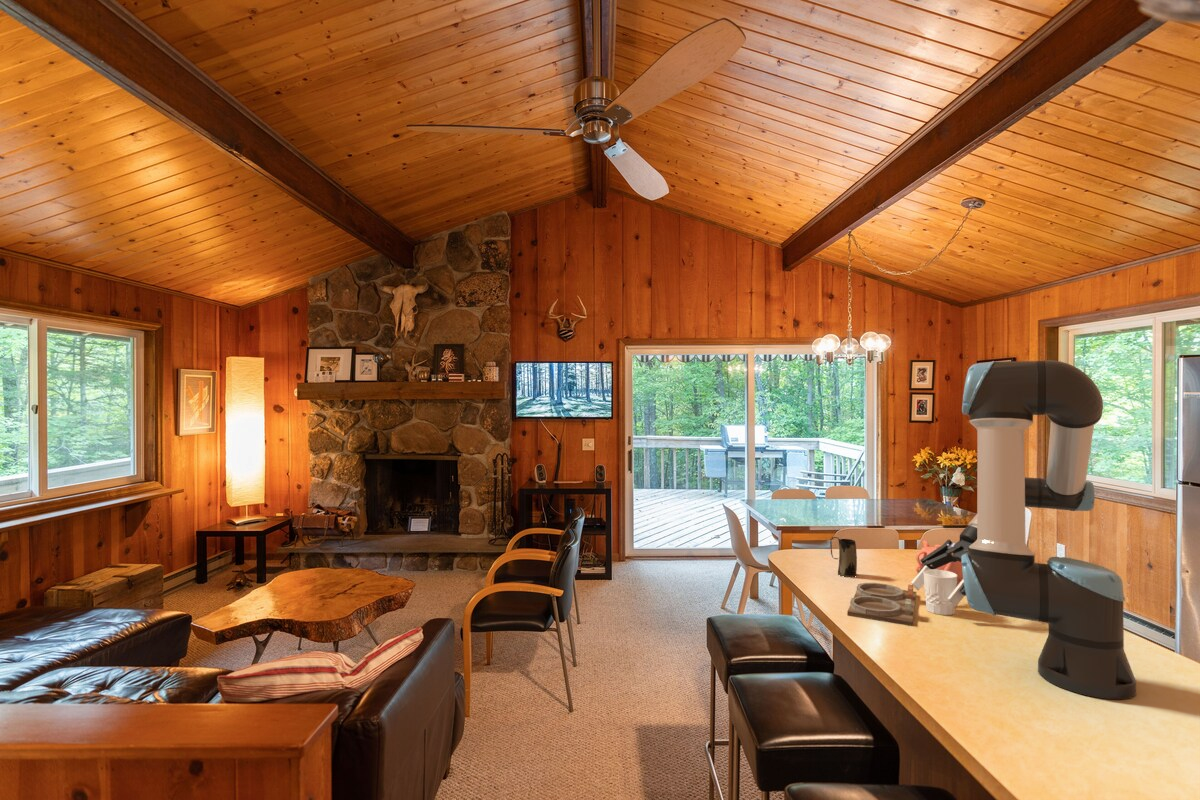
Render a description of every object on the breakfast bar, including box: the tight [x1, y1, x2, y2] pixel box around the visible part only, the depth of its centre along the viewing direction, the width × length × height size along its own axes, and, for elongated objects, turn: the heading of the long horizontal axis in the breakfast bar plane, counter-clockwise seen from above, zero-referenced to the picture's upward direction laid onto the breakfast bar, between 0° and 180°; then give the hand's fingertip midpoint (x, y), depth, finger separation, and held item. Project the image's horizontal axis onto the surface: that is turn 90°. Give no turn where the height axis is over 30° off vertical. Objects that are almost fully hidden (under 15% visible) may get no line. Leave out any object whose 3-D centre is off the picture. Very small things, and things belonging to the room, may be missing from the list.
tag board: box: [846, 582, 917, 626], centre depth 164 cm, size 27×15×4 cm, turn 150°
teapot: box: [915, 539, 963, 583], centre depth 187 cm, size 14×14×11 cm
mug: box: [829, 536, 858, 578], centre depth 193 cm, size 8×6×12 cm
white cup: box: [923, 569, 958, 616], centre depth 159 cm, size 8×8×10 cm
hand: (932, 594), depth 159 cm, fingers open, 12 cm apart
